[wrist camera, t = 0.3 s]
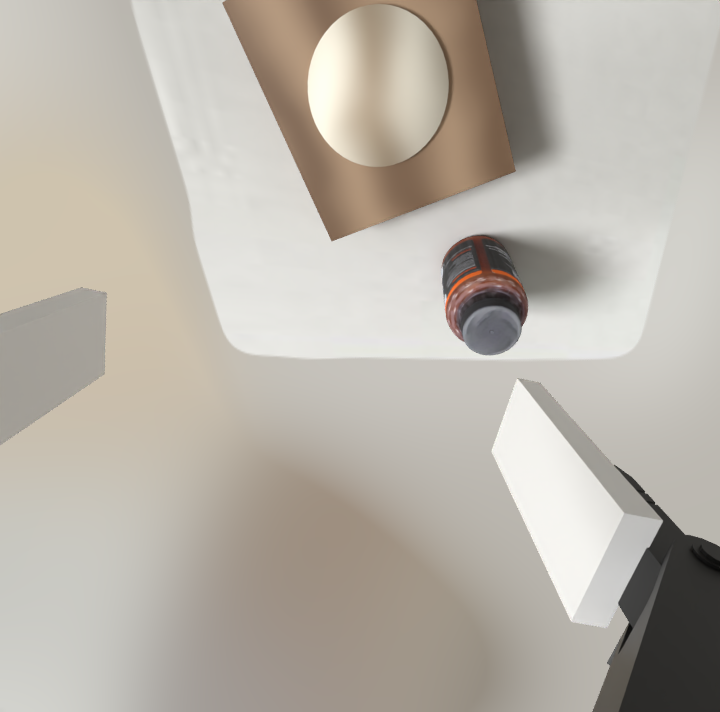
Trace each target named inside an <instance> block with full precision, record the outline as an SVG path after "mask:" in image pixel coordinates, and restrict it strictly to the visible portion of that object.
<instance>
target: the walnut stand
mask: <svg viewBox="0 0 720 712" xmlns="http://www.w3.org/2000/svg"><path fill="white" fill-rule="evenodd" d="M223 5H224V7H225V10H226V12H227V14H228V16H229V18H230V21H231V23H232V25H233V27H234V29H235V31H236V34H237V36H238V38H239V40H240V42H241V44H242V47H243V49H244V51H245V53H246V55H247V58H248V60H249V62H250V64H251V66H252V68H253V71H254V73H255V75H256V77H257V79H258V82H259V84H260V86H261V88H262V90H263V92H264V95H265V97H266V99H267V101H268V103H269V106H270V108H271V110H272V112H273V114H274V116H275V119H276V121H277V123H278V125H279V127H280V130H281V132H282V134H283V136H284V138H285V140H286V143H287V145H288V147H289V149H290V151H291V154H292V156H293V158H294V160H295V162H296V164H297V167H298V169H299V171H300V173H301V175H302V178H303V180H304V182H305V184H306V186H307V188H308V191H309V193H310V195H311V197H312V199H313V201H314V204H315V206H316V208H317V210H318V212H319V215H320V217H321V219H322V221H323V223H324V225H325V228H326V230H327V232H328V234H329V236H330V239H331V241H334V240H337V239H339V238H342V237H344V236H347V235H350V234H352V233H355V232H358V231H360V230H363V229H365V228H368V227H371V226H373V225H376V224H379V223H381V222H384V221H386V220H389V219H392V218H394V217H397V216H400V215H402V214H405V213H408V212H410V211H413V210H415V209H418V208H421V207H423V206H426V205H429V204H431V203H434V202H436V201H439V200H442V199H444V198H447V197H450V196H452V195H455V194H458V193H460V192H463V191H465V190H468V189H471V188H473V187H476V186H479V185H481V184H484V183H486V182H489V181H492V180H494V179H497V178H500V177H502V176H505V175H508V174H510V173H513V172H515V171H516V170H515V166H514V162H513V157H512V153H511V149H510V144H509V140H508V136H507V131H506V127H505V123H504V118H503V114H502V110H501V105H500V101H499V96H498V92H497V88H496V83H495V79H494V75H493V70H492V66H491V62H490V57H489V53H488V49H487V44H486V40H485V36H484V31H483V27H482V23H481V18H480V14H479V10H478V5H477V1H476V0H226V1H224V2H223Z"/></svg>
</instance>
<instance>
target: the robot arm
mask: <svg viewBox="0 0 720 712" xmlns="http://www.w3.org/2000/svg"><path fill="white" fill-rule="evenodd" d="M106 295H107V293H106V292H101V291H96V290H92V289H87V288H78V289H76V290H72V291H69V292H66V293H63V294H60V295H57V296H54V297H51V298H48V299H45V300H42V301H38V302H35V303H33V304H29V305H26V306H23V307H20V308H17V309H14V310H11V311H8V312H5V313H2V314H0V445H1V444H3V443H4V442H5V441H7V440H8V439H9V438H11V437H13V436H14V435H16V434H17V433H19V432H20V431H21V430H23V429H25V428H26V427H28V426H29V425H30V424H32V423H33V422H35V421H36V420H38V419H39V418H41V417H42V416H44V415H45V414H47V413H48V412H50V411H51V410H53V409H54V408H55V407H57V406H58V405H60V404H61V403H62V402H64V401H66V400H67V399H69V398H70V397H72V396H73V395H75V394H76V393H77V392H79V391H80V390H82V389H83V388H85V387H86V386H88V385H89V384H91V383H92V382H93V381H95V380H97V379H98V378H99V377H101V376H102V375H104V371H105V334H106V298H107V296H106ZM492 453H493V456H494V458H495V460H496V462H497V464H498V466H499V468H500V470H501V473H502V475H503V477H504V479H505V481H506V483H507V486H508V488H509V490H510V492H511V494H512V496H513V498H514V501H515V503H516V505H517V507H518V509H519V511H520V513H521V515H522V518H523V520H524V522H525V524H526V526H527V528H528V530H529V533H530V535H531V537H532V539H533V541H534V543H535V545H536V547H537V549H538V552H539V554H540V556H541V558H542V560H543V562H544V564H545V567H546V568H547V571H548V573H549V575H550V577H551V580H552V582H553V584H554V586H555V588H556V590H557V592H558V595H559V597H560V599H561V601H562V603H563V605H564V607H565V609H566V612H567V614H568V616H569V618H570V620H571V622H576V623H581V624H587V625H592V626H598V627H603V628H607V627H608V625H609V622H610V621H611V619H612V617H613V615H614V613H615V611H616V610H617V607H618V606H620V608H621V609H622V611H623V613H624V614H625V616H626V618H627V619H628V621H629V624H628V626H627V627H626V629H625V631H624V633H623V635H622V637H621V638H620V640H619V642H618V644H617V646H616V647H615V649H614V651H613V653H612V655H611V657H610V658H609V660H608V662H607V664H609V665H610V668H609V670H608V673H607V676H606V678H605V681H604V684H603V686H602V688H601V691H600V694H599V696H598V699H597V701H596V704H595V707H594V709H593V712H720V547H719V546H717V545H716V544H713V543H711V542H709V541H706V540H704V539H702V538H698V537H694V536H690V535H685V534H684V533H683V532H682V531H681V530H680V529H679V528H678V527H677V526H676V525H675V523H674V522H673V521H672V520H671V519H670V518H669V517H668V516H667V515H666V514H665V513H664V512H663V510H662V509H661V508H660V507H659V506H658V505H655V502H654V501H653V500H652V499H651V497H650V496H649V495H648V494H645V491H644V490H643V489H642V488H641V486H640V485H639V484H638V483H637V482H636V481H635V480H634V479H633V478H632V477H631V476H629V475H628V474H627V473H625V472H624V471H622V470H621V469H620V468H618V467H617V466H615V465H613V464H612V463H611V462H610V461H609V459H608V458H607V457H606V456H605V455H604V454H603V453H602V452H601V450H600V449H599V448H598V447H597V446H596V445H595V444H594V443H593V442H592V440H591V439H590V438H589V437H588V436H587V435H586V434H585V433H584V431H583V430H582V429H581V428H580V427H579V426H578V425H577V424H576V422H575V421H574V420H573V419H572V418H571V417H570V416H569V415H568V413H567V412H566V411H565V410H564V409H563V408H562V407H561V406H560V405H559V403H558V402H557V401H556V400H555V399H554V398H553V397H552V396H551V394H550V393H549V392H548V391H547V390H546V389H545V388H544V387H543V386H542V384H541V383H538V382H534V381H529V380H524V379H519V378H517V380H516V384H515V386H514V389H513V392H512V395H511V397H510V401H509V403H508V406H507V409H506V412H505V414H504V417H503V420H502V423H501V426H500V429H499V431H498V434H497V437H496V440H495V443H494V446H493V449H492Z"/></svg>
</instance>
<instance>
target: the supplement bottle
mask: <svg viewBox="0 0 720 712" xmlns="http://www.w3.org/2000/svg"><path fill="white" fill-rule="evenodd" d="M441 275H442V285H443V294H444V303H445V311H446V318H447V322H448V324H449V327H450V328H451V330H452V332H453V333H454V334H455V335H456V336H457V337H458V338H459V339H460V340H462V341H464V342H465V343H466V345H467V346H468V347H469V348H470V349H471V350H473V351H474V352H476V353H479V354H482V355H496V354H500V353H503V352H505V351H507V350H509V349H510V348H511V347H512V346H513V345H514V344H515V343H516V342H517V341H518V339H519V337H520V335H521V329H522V326H523V324H524V322H525V320H526V317H527V313H528V301H527V297H526V294H525V291H524V289H523V286H522V284H521V282H520V279H519V277H518V275H517V273H516V270H515V268H514V266H513V263H512V261H511V259H510V256H509V254H508V253H507V251H506V249H505V248H504V247H503V246H502V245H501V244H500V243H499V242H498V241H496V240H494V239H492V238H489V237H485V236H472V237H467V238H465V239H463V240H461V241H459V242H457V243H456V244H455V245H453V246H452V247H451V248H450V249H449V251H448V252H447V253H446V255H445V257H444V259H443V263H442V270H441Z"/></svg>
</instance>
